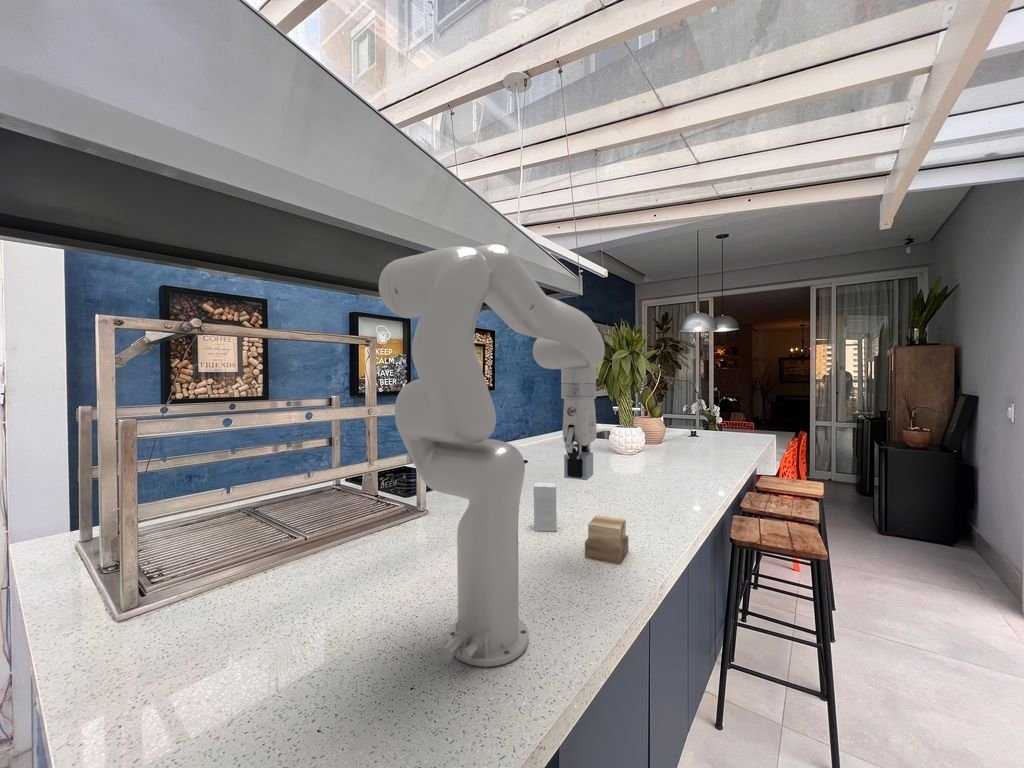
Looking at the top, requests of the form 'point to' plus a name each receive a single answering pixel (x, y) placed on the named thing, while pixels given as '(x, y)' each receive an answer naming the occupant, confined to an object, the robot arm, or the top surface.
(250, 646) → the top surface
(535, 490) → the skincare box
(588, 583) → the top surface
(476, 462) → the robot arm
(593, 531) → the tower top
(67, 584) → the top surface
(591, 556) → the tower base
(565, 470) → the cube
